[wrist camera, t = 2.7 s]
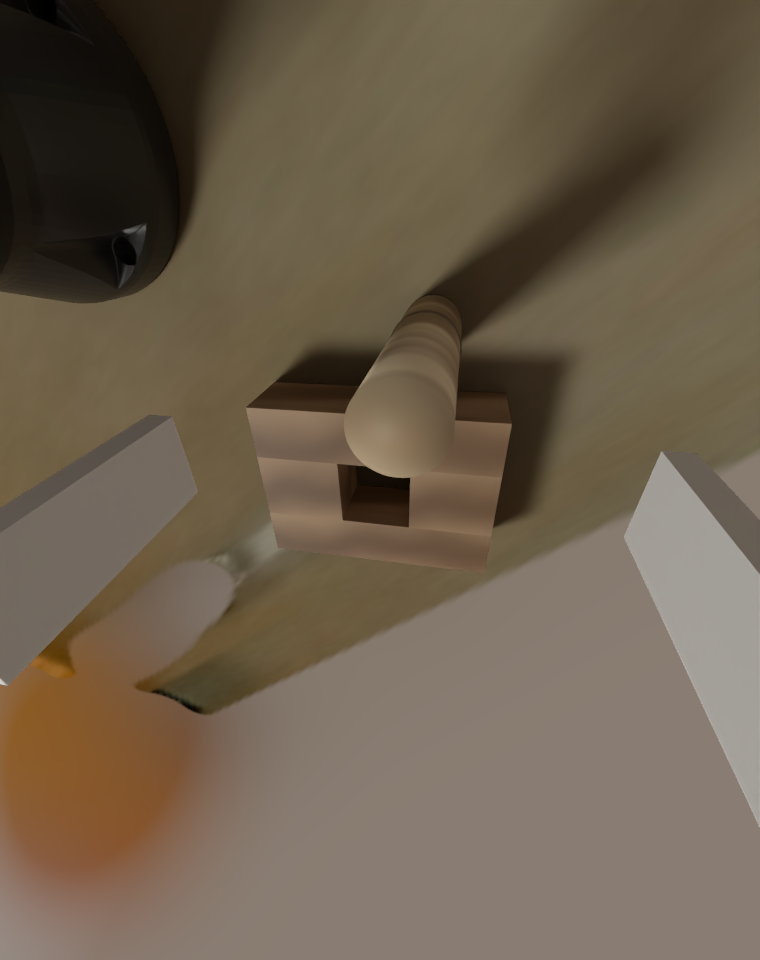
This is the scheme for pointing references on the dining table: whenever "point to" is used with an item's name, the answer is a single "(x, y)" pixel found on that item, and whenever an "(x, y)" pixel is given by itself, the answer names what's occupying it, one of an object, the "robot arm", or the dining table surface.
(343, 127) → the dining table surface
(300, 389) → the board
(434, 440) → the dowel
